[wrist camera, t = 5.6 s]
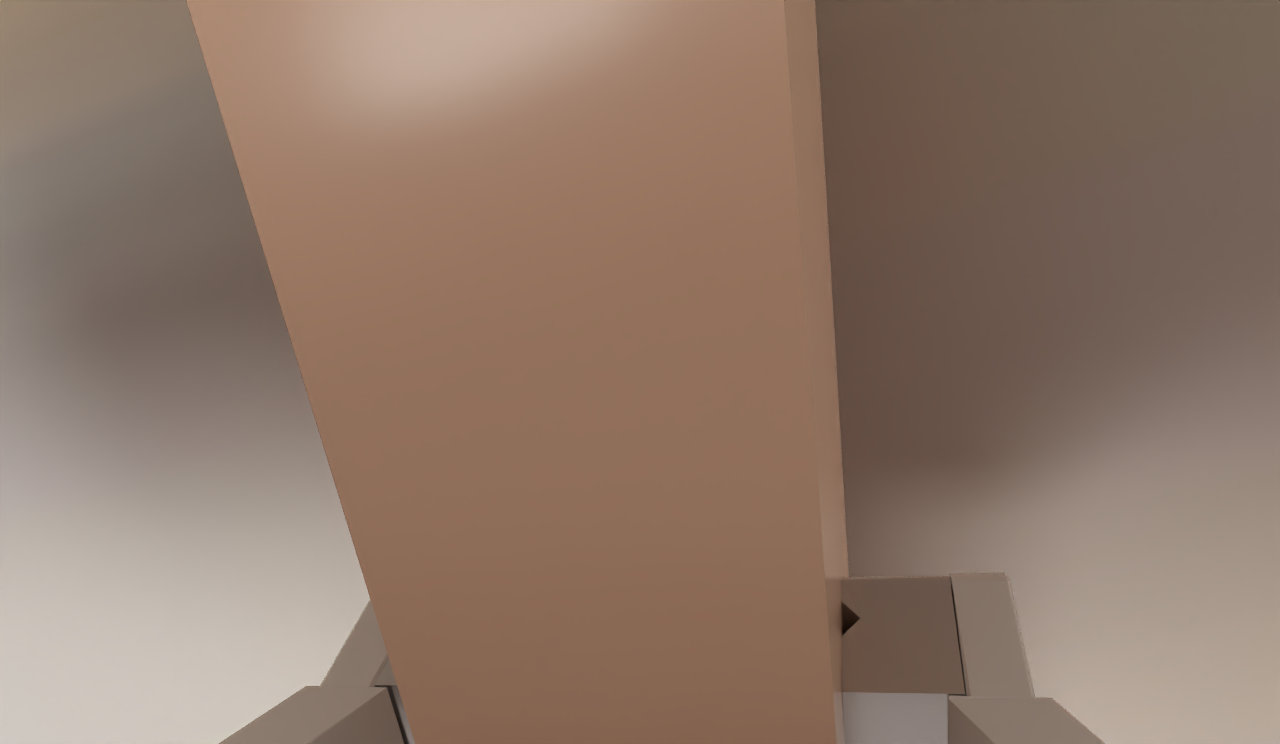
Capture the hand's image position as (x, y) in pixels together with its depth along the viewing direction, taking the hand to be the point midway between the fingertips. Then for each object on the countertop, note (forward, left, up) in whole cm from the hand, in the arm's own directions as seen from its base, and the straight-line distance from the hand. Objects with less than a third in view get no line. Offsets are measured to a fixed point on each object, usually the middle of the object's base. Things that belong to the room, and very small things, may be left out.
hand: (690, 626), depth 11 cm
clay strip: (0, 0, -2) cm, 2 cm away
